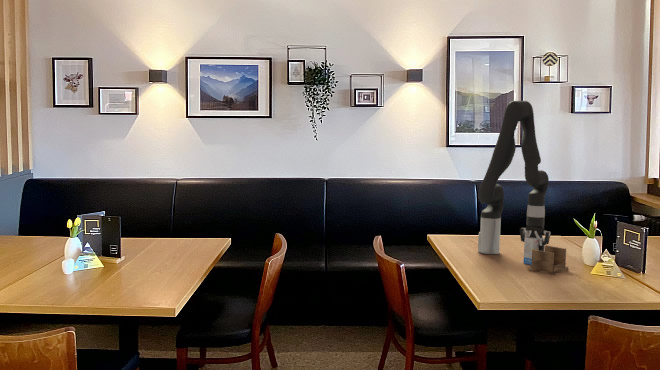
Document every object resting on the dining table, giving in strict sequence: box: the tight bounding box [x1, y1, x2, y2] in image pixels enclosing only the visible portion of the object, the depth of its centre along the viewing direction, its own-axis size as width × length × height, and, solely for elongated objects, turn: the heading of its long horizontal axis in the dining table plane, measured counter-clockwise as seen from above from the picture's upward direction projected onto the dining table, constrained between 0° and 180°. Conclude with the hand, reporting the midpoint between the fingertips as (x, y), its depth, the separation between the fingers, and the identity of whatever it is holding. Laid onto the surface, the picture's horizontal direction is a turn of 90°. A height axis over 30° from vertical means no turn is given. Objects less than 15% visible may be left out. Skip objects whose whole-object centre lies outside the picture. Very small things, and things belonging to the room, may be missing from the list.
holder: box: [527, 244, 569, 276], centre depth 257 cm, size 11×15×9 cm
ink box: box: [522, 231, 546, 266], centre depth 268 cm, size 8×5×15 cm, turn 123°
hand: (534, 252), depth 268 cm, fingers closed on ink box, 5 cm apart
